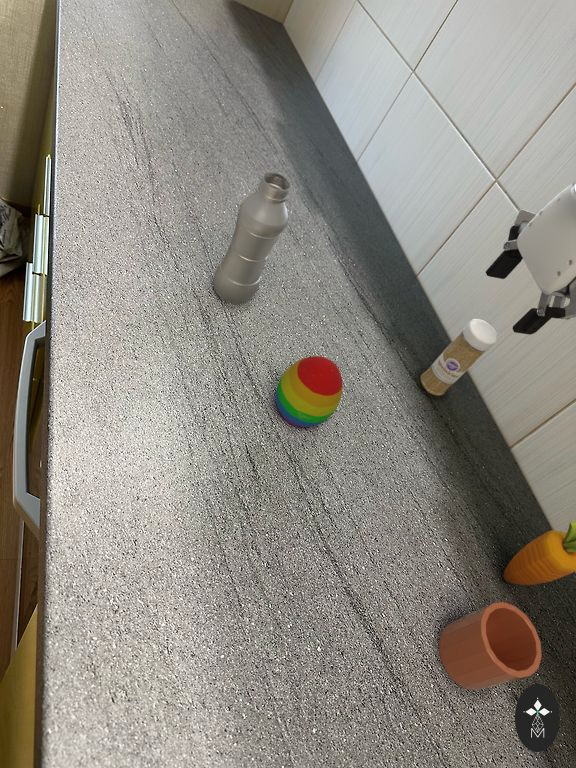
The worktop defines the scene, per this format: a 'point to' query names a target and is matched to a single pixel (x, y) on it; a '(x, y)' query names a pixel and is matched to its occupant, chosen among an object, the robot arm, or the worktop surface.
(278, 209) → the plastic bottle
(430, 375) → the sprinkles bottle
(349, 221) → the worktop surface
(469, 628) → the terracotta pot
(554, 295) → the robot arm
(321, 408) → the decorative egg
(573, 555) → the carrot
